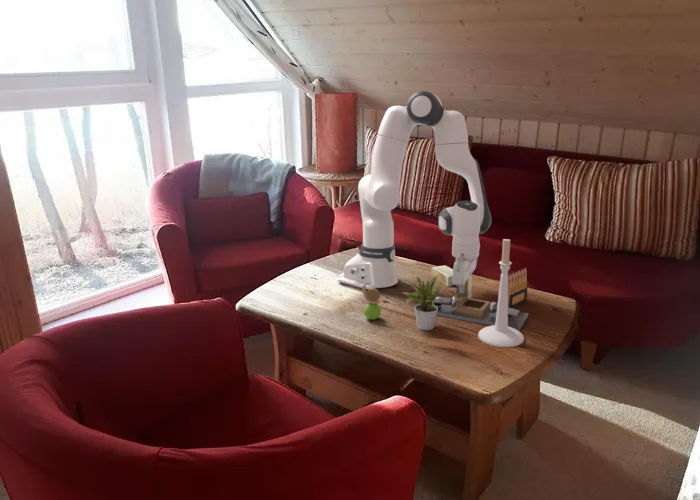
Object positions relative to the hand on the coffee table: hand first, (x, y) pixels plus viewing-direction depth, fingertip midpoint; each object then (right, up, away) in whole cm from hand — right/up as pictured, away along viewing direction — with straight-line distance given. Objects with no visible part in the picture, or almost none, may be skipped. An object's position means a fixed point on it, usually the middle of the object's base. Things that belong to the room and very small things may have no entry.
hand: (463, 289), depth 197 cm
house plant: (-16, -10, -19) cm, 26 cm away
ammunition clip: (+16, -5, -4) cm, 18 cm away
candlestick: (+5, -12, -28) cm, 31 cm away
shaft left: (-9, -5, -8) cm, 13 cm away
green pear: (-32, -9, -13) cm, 36 cm away
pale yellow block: (0, -3, +1) cm, 4 cm away
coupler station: (+1, -7, -11) cm, 14 cm away
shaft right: (+9, -8, -17) cm, 21 cm away
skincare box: (-1, +2, +12) cm, 12 cm away
